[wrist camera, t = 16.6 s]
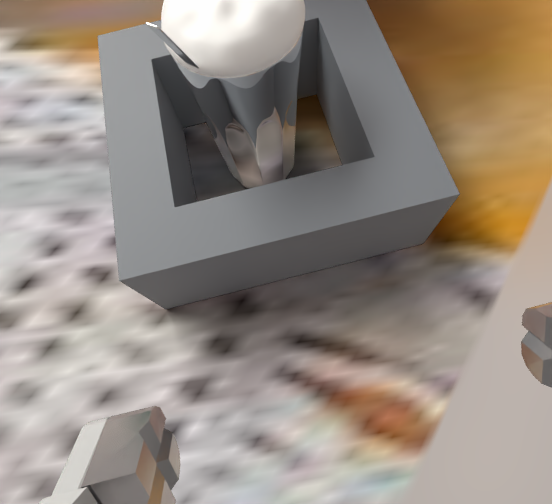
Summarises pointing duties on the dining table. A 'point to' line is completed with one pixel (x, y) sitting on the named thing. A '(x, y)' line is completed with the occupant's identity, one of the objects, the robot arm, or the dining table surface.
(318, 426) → the dining table surface
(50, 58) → the dining table surface
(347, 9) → the socket collar
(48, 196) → the dining table surface
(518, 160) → the dining table surface
